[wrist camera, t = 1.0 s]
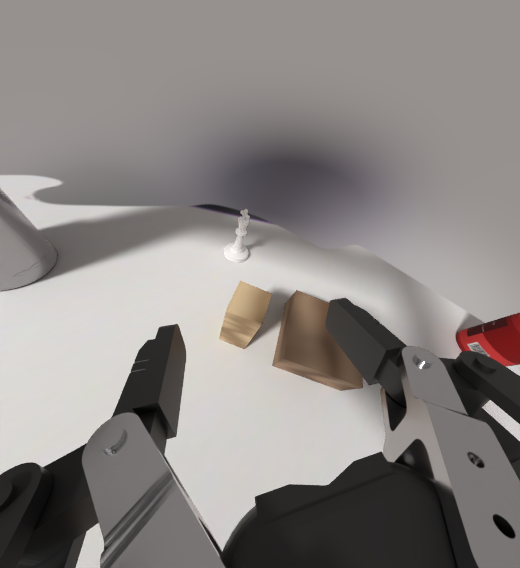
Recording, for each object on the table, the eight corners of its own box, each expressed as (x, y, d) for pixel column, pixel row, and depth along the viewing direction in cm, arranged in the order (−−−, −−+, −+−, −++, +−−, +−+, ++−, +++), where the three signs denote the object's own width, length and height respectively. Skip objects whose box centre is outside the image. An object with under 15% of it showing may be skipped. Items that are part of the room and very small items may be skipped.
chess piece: (238, 241, 39) (247, 197, 31) (253, 256, 38) (267, 215, 30) (218, 249, 36) (223, 204, 28) (234, 266, 35) (244, 224, 27)
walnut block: (271, 366, 27) (283, 358, 23) (285, 304, 34) (296, 290, 30) (339, 390, 28) (362, 387, 24) (339, 325, 34) (358, 314, 30)
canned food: (494, 377, 37) (587, 366, 28) (457, 353, 38) (535, 336, 29) (486, 345, 41) (562, 327, 33) (452, 324, 42) (518, 302, 33)
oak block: (218, 338, 27) (226, 309, 19) (229, 315, 29) (240, 280, 21) (244, 349, 27) (262, 324, 19) (252, 325, 30) (272, 293, 22)
